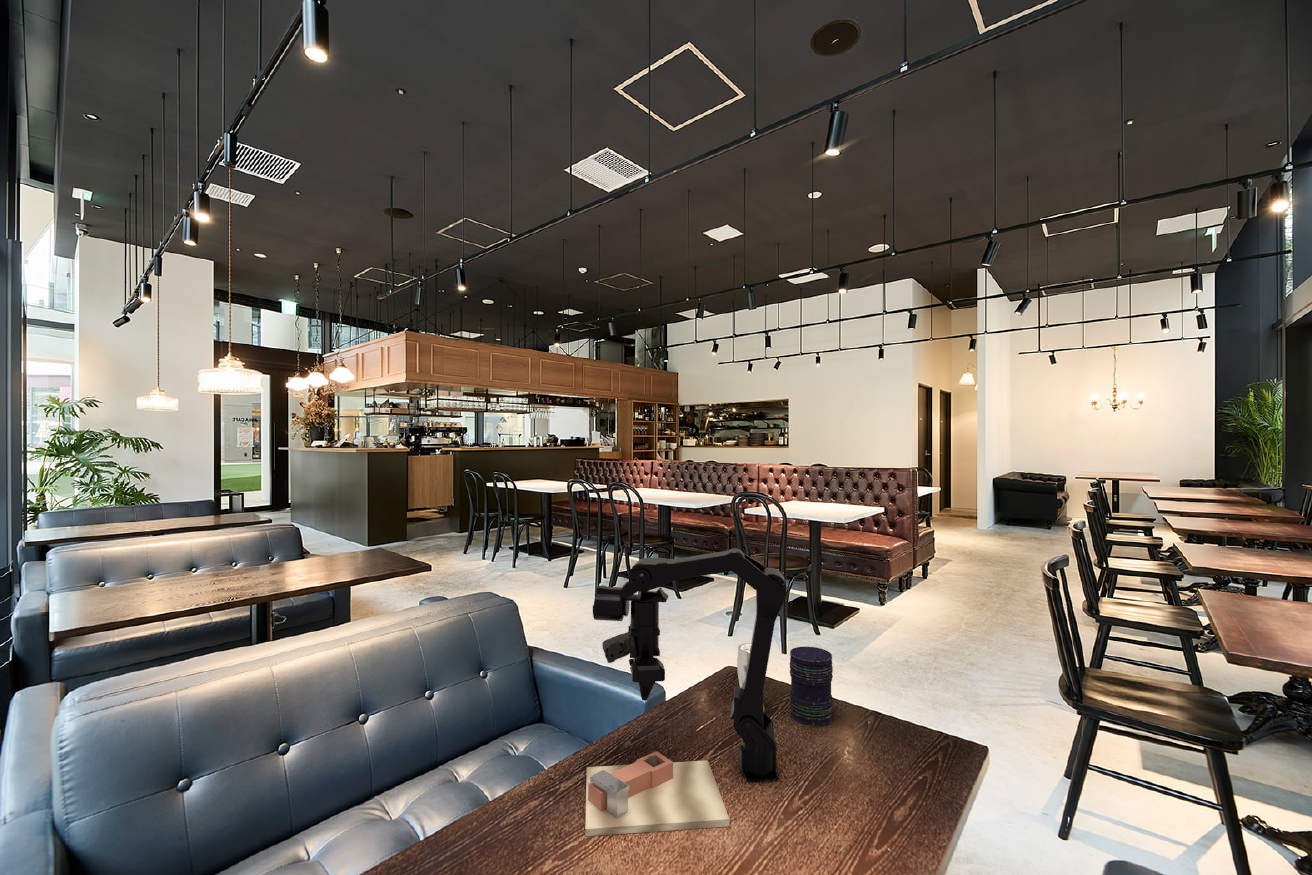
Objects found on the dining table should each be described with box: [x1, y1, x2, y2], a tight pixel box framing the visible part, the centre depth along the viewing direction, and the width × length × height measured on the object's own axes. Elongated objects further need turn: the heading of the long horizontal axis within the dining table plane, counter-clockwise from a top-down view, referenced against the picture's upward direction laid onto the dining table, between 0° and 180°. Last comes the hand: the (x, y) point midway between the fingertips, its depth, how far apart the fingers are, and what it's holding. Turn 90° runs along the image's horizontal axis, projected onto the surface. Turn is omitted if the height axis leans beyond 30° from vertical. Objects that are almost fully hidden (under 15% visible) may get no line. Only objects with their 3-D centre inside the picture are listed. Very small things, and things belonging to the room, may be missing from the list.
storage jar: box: [789, 646, 834, 728], centre depth 134 cm, size 10×10×15 cm
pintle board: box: [584, 756, 730, 837], centre depth 103 cm, size 24×18×4 cm
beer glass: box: [736, 642, 765, 713], centre depth 138 cm, size 7×7×15 cm
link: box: [588, 750, 673, 811], centre depth 104 cm, size 16×5×3 cm, turn 129°
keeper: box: [590, 770, 629, 818], centre depth 98 cm, size 3×7×4 cm, turn 46°
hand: (644, 699), depth 115 cm, fingers closed
